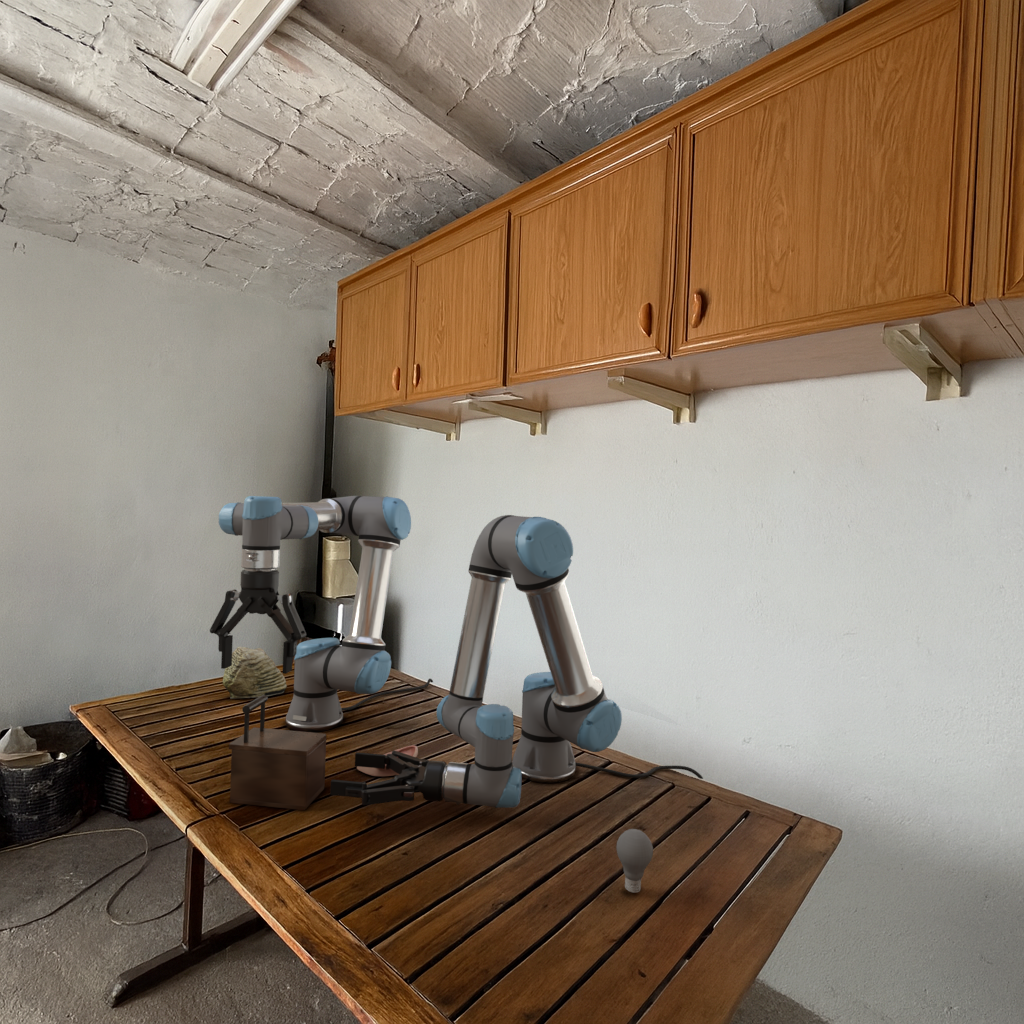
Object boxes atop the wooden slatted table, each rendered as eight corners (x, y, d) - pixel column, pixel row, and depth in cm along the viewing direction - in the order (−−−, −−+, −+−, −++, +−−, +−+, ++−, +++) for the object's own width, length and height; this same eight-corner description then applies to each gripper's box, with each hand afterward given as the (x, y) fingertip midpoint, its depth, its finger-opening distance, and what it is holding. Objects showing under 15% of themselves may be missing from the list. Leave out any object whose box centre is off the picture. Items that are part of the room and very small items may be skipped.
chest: (229, 802, 130) (231, 749, 129) (254, 781, 139) (256, 732, 139) (304, 810, 128) (306, 756, 128) (324, 788, 138) (326, 738, 137)
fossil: (218, 695, 195) (220, 647, 195) (278, 685, 208) (279, 640, 207) (228, 703, 189) (230, 653, 188) (289, 692, 201) (290, 645, 201)
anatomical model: (351, 756, 145) (372, 738, 156) (350, 773, 145) (371, 754, 156) (406, 763, 142) (423, 744, 154) (405, 780, 143) (422, 760, 154)
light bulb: (610, 879, 108) (613, 822, 108) (644, 879, 109) (647, 822, 109) (619, 902, 102) (622, 840, 102) (655, 901, 103) (658, 840, 103)
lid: (228, 749, 129) (230, 706, 129) (253, 732, 139) (255, 692, 139) (306, 756, 128) (308, 712, 127) (326, 738, 137) (327, 697, 137)
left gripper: (194, 567, 131) (190, 669, 131) (309, 574, 128) (305, 678, 129) (215, 564, 139) (211, 660, 139) (324, 570, 136) (320, 669, 136)
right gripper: (430, 831, 116) (318, 820, 118) (456, 773, 141) (363, 765, 143) (431, 791, 116) (320, 780, 118) (457, 740, 141) (365, 732, 143)
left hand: (256, 669), depth 134 cm, fingers open, 13 cm apart
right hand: (343, 772), depth 131 cm, fingers open, 13 cm apart
